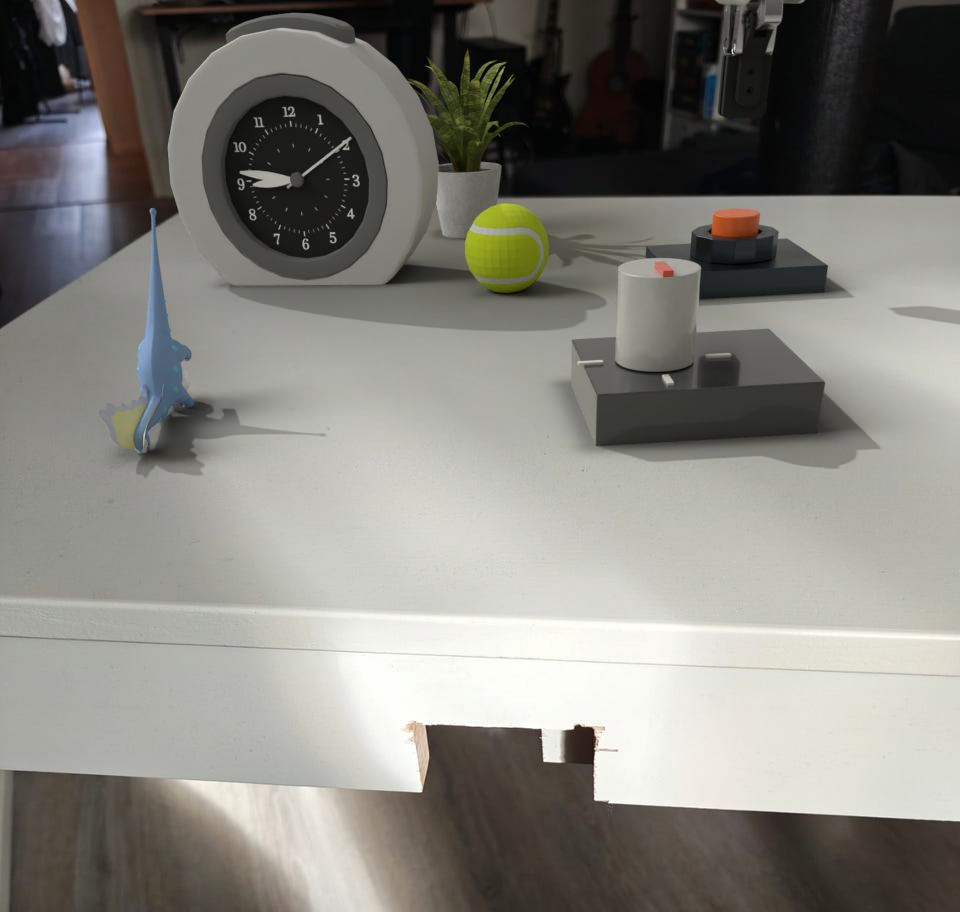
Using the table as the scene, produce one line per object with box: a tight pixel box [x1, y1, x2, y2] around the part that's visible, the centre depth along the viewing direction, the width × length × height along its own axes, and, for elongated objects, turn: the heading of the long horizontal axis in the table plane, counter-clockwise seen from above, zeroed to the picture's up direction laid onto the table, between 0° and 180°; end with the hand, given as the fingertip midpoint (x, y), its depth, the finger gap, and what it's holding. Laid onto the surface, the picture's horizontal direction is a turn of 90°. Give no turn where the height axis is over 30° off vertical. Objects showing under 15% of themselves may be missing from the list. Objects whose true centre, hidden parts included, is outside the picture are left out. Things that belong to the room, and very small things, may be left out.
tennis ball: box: [464, 203, 550, 294], centre depth 81 cm, size 7×7×7 cm
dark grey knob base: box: [570, 328, 826, 447], centre depth 58 cm, size 12×10×3 cm
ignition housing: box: [645, 223, 829, 300], centre depth 81 cm, size 12×10×4 cm
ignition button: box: [711, 208, 761, 237], centre depth 80 cm, size 4×4×2 cm
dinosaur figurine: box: [98, 207, 195, 455], centre depth 58 cm, size 3×15×10 cm
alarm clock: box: [167, 12, 440, 286], centre depth 85 cm, size 21×8×20 cm, turn 82°
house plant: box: [405, 48, 530, 239], centre depth 99 cm, size 14×14×16 cm
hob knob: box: [615, 258, 701, 372], centre depth 56 cm, size 4×4×5 cm
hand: (741, 115), depth 76 cm, fingers closed
